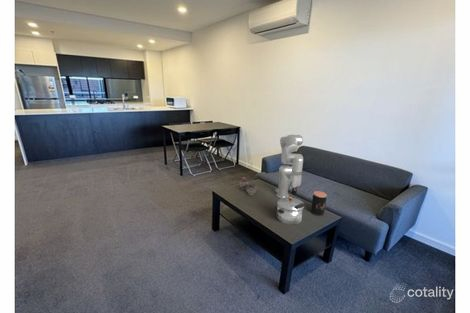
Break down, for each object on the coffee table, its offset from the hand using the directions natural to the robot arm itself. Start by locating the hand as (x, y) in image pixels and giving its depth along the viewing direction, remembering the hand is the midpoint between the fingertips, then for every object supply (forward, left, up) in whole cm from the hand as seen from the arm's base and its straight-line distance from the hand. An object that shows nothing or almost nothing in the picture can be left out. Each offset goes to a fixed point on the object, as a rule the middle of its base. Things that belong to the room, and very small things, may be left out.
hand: (293, 194), depth 175 cm
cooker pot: (-2, 0, -22) cm, 22 cm away
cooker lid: (-2, 0, -10) cm, 10 cm away
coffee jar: (+7, +27, -22) cm, 35 cm away
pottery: (-60, +5, -22) cm, 64 cm away
